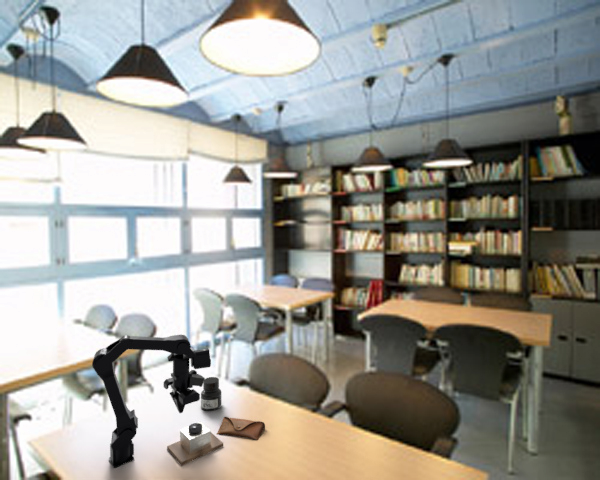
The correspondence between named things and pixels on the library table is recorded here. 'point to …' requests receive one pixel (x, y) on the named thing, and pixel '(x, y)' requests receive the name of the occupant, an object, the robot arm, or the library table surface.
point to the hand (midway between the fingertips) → (180, 412)
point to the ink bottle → (211, 394)
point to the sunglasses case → (241, 428)
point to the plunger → (195, 428)
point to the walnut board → (185, 457)
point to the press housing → (195, 439)
